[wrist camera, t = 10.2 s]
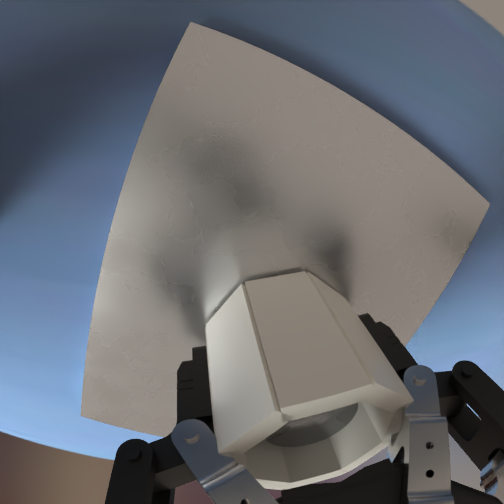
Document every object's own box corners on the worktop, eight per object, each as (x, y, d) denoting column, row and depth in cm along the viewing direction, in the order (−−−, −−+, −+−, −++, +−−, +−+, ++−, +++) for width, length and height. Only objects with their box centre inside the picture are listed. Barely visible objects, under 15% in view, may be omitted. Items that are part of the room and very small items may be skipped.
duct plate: (83, 403, 16) (67, 486, 10) (191, 28, 9) (185, -43, 4) (308, 439, 21) (330, 505, 15) (477, 198, 14) (559, 243, 9)
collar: (195, 289, 12) (202, 421, 7) (348, 262, 13) (430, 362, 7) (222, 393, 15) (238, 499, 10) (339, 368, 16) (385, 460, 10)
